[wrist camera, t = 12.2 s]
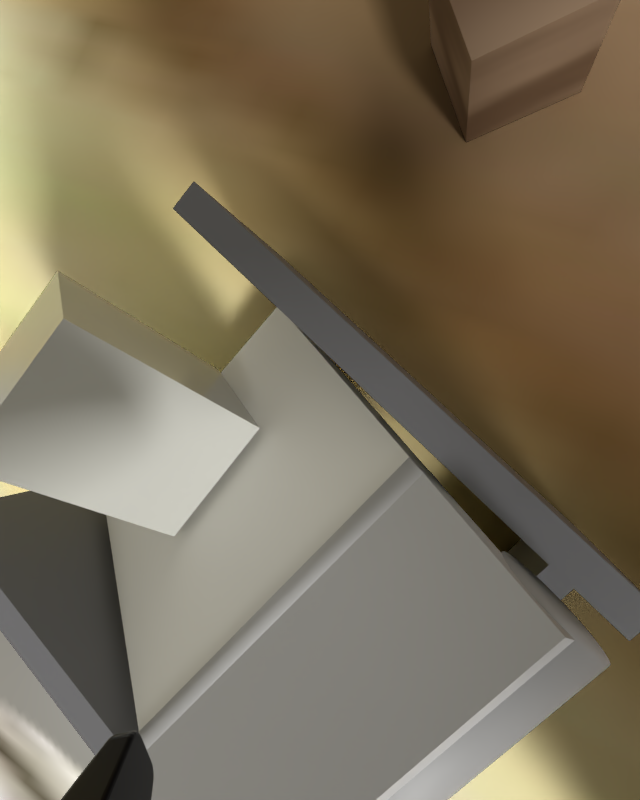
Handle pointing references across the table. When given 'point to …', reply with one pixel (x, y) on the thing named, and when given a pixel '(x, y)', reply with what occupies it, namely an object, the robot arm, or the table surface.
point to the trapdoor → (332, 611)
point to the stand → (514, 55)
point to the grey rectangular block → (113, 412)
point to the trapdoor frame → (89, 536)
